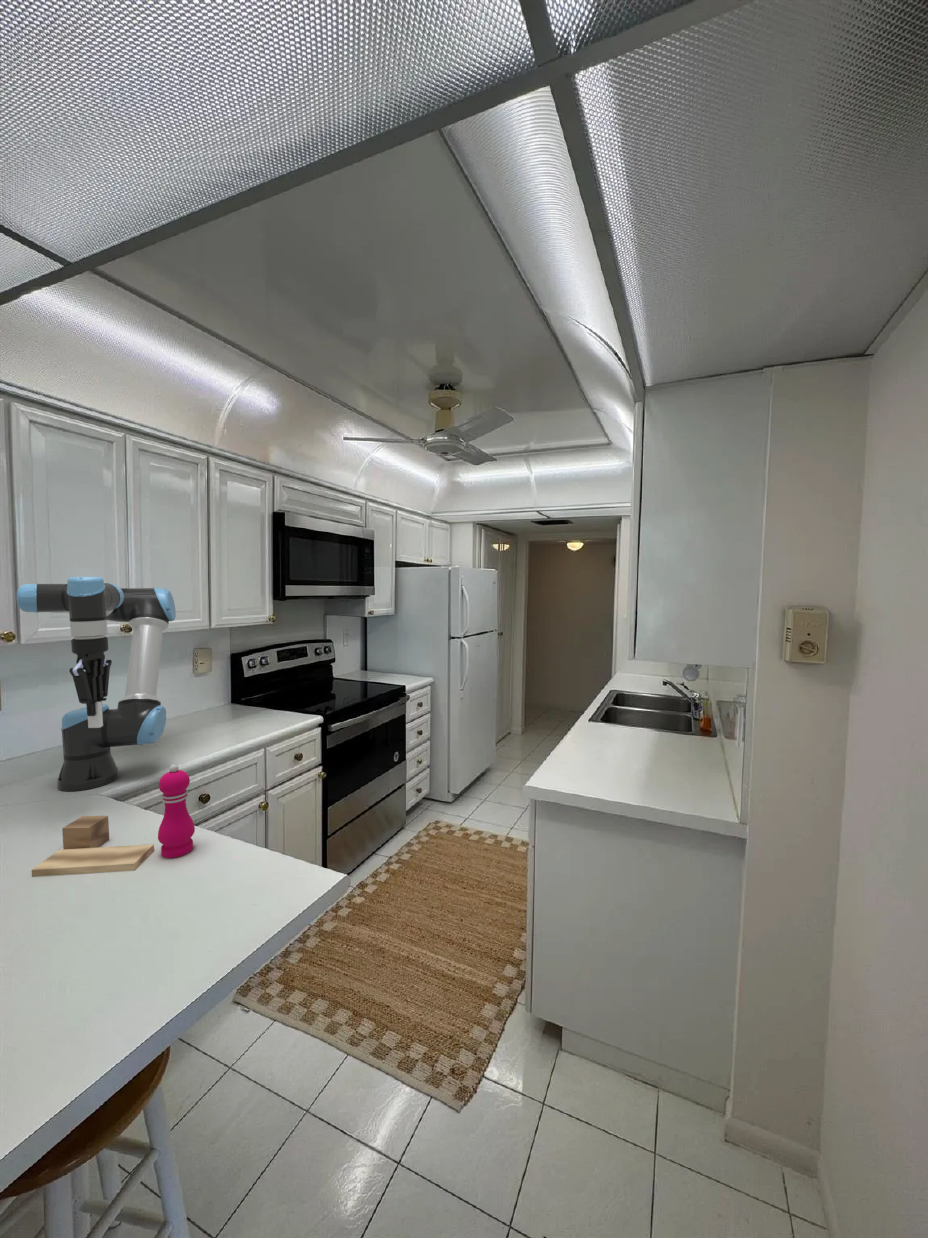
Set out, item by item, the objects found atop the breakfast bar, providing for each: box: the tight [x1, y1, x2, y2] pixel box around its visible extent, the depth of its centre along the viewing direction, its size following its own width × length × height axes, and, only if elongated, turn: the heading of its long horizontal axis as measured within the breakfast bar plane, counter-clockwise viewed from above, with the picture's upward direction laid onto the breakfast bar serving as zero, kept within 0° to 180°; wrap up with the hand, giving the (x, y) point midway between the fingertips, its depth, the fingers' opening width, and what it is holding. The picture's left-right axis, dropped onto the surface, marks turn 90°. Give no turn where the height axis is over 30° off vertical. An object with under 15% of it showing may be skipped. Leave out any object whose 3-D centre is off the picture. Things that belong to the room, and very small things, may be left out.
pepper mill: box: [157, 764, 196, 859], centre depth 111 cm, size 7×7×20 cm
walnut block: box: [61, 815, 110, 850], centre depth 114 cm, size 6×6×6 cm
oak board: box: [31, 844, 155, 878], centre depth 107 cm, size 8×20×2 cm, turn 96°
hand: (95, 726), depth 129 cm, fingers closed
